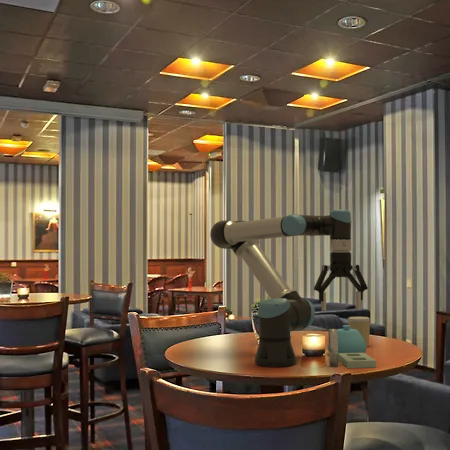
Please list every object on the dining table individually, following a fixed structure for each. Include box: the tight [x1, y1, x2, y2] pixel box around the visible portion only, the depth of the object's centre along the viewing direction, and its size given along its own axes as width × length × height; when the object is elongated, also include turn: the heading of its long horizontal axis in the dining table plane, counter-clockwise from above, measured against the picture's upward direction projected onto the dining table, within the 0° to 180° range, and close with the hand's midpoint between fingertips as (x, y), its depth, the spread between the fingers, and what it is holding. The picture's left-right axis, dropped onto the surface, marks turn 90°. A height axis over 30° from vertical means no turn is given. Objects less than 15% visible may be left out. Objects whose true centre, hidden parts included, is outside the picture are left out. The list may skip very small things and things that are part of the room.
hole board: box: [338, 352, 377, 369], centre depth 217 cm, size 10×16×2 cm, turn 2°
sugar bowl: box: [327, 324, 367, 354], centre depth 236 cm, size 15×15×12 cm
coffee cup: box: [347, 316, 371, 348], centre depth 255 cm, size 9×9×12 cm
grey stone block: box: [327, 328, 339, 368], centre depth 214 cm, size 3×3×13 cm
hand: (341, 309), depth 218 cm, fingers open, 13 cm apart
